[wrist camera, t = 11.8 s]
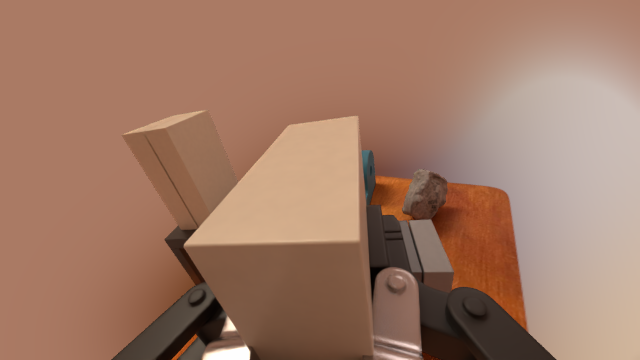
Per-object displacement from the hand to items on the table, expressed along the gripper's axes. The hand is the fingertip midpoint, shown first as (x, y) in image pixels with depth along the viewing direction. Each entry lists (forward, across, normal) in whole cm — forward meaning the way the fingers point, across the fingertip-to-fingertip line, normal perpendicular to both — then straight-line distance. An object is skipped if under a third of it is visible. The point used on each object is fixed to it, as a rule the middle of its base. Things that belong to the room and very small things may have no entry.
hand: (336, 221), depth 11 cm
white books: (+13, +18, +8) cm, 23 cm away
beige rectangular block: (-3, 0, +7) cm, 8 cm away
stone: (+27, -12, +23) cm, 37 cm away
